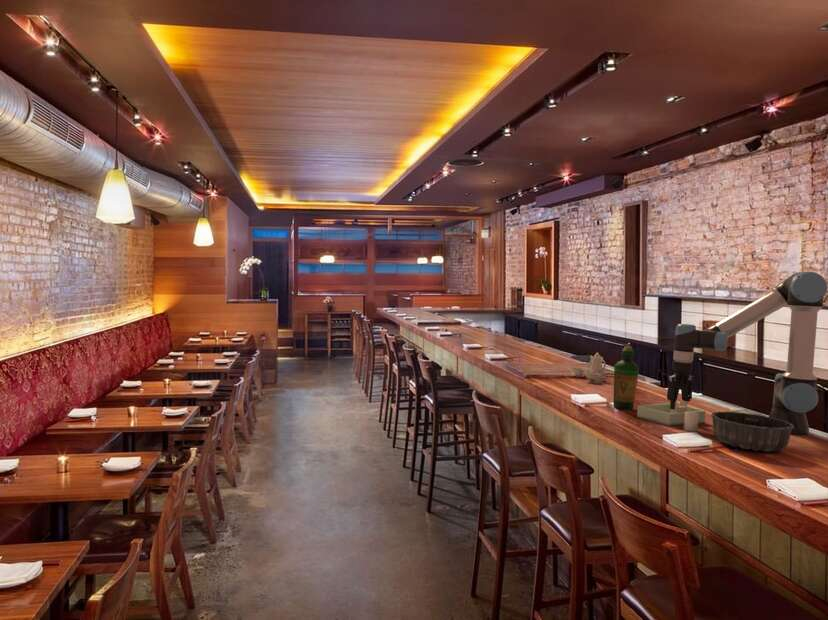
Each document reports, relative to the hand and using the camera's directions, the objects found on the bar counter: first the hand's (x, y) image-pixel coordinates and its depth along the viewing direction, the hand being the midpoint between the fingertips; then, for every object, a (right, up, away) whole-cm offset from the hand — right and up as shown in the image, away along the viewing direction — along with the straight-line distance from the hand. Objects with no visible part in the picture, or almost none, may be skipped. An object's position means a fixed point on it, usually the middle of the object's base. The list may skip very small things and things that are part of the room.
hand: (677, 416), depth 254 cm
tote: (-2, -2, +3) cm, 4 cm away
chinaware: (-8, +4, +99) cm, 99 cm away
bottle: (-15, 0, +22) cm, 27 cm away
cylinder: (-1, -3, -13) cm, 14 cm away
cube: (0, 0, 0) cm, 0 cm away
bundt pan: (+12, -5, -33) cm, 35 cm away
